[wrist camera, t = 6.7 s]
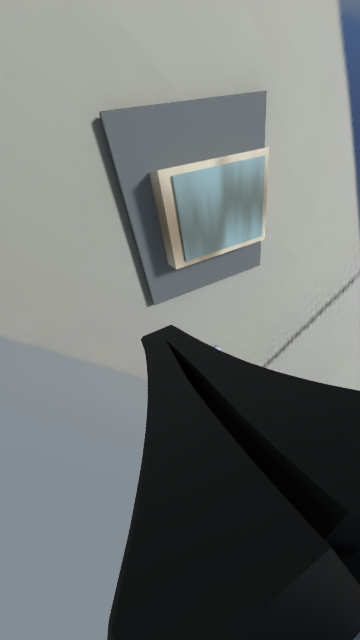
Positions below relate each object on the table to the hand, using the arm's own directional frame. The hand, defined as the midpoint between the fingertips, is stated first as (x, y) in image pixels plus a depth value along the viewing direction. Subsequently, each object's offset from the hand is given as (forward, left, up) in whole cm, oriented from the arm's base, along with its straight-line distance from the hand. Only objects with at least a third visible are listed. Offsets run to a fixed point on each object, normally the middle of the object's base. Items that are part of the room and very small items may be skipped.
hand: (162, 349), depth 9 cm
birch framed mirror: (+3, -4, -8) cm, 10 cm away
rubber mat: (+3, -8, -9) cm, 12 cm away
